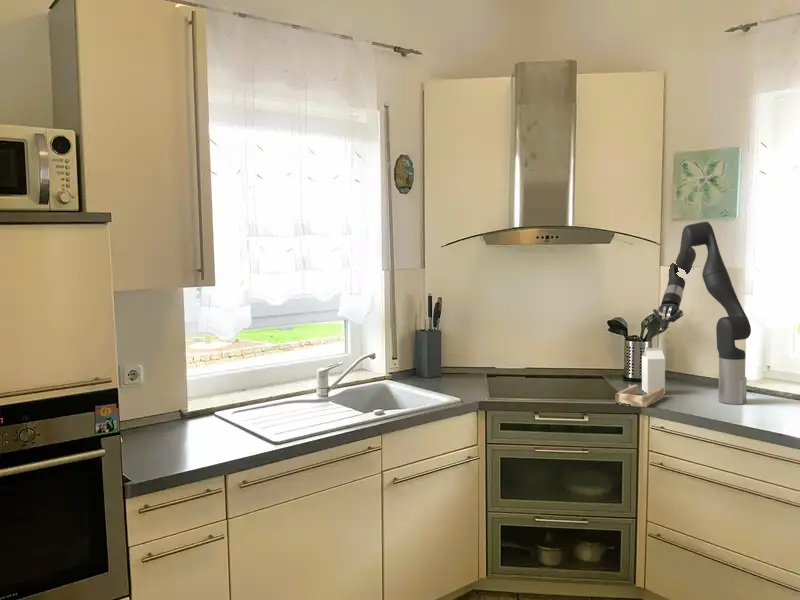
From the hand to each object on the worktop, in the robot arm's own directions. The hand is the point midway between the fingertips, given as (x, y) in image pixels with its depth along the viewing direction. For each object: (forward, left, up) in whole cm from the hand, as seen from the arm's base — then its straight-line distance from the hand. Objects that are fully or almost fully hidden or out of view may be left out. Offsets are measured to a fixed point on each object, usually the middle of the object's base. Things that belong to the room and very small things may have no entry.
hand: (663, 328), depth 291 cm
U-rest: (0, +29, -26) cm, 38 cm away
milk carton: (0, +13, -26) cm, 29 cm away
